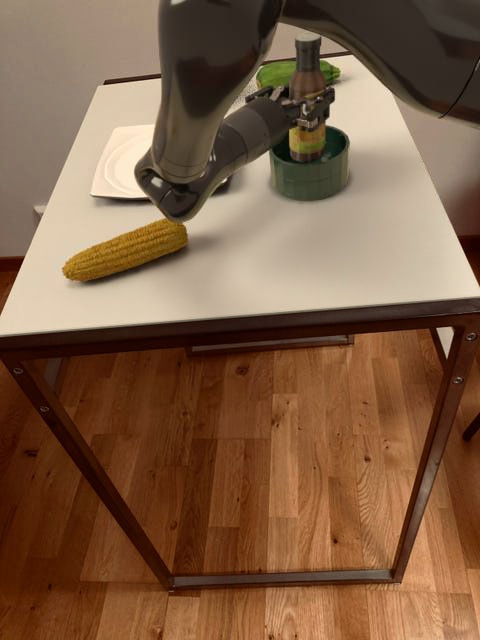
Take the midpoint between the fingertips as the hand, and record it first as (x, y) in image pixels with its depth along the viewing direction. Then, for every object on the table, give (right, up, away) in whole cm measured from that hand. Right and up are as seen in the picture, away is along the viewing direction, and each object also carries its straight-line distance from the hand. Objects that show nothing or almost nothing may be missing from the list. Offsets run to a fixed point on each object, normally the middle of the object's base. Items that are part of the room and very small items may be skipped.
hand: (315, 89), depth 84 cm
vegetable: (+2, +16, +36) cm, 39 cm away
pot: (0, -12, +11) cm, 16 cm away
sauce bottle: (0, -9, +7) cm, 11 cm away
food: (-30, -29, 0) cm, 42 cm away
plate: (-27, -6, +21) cm, 35 cm away
